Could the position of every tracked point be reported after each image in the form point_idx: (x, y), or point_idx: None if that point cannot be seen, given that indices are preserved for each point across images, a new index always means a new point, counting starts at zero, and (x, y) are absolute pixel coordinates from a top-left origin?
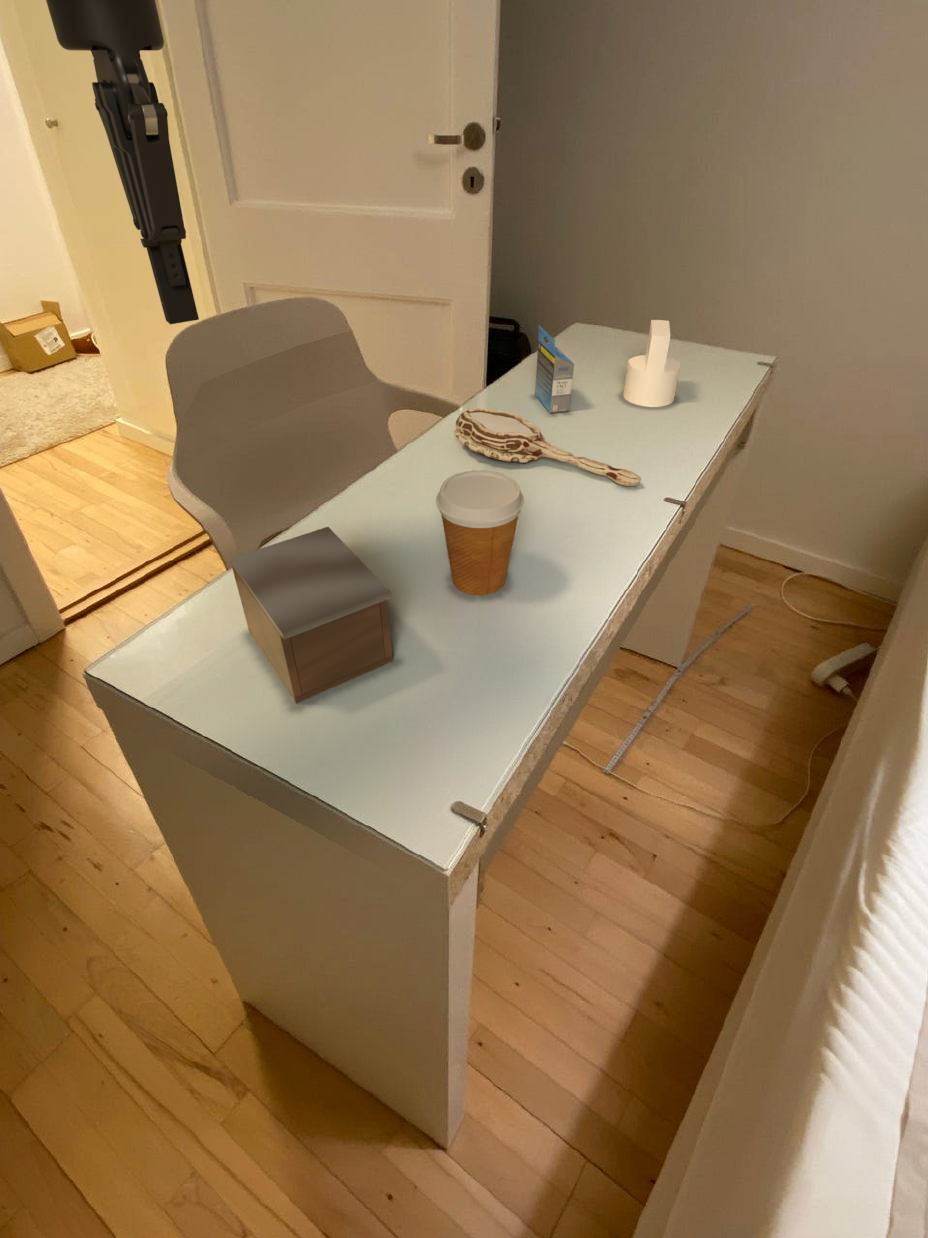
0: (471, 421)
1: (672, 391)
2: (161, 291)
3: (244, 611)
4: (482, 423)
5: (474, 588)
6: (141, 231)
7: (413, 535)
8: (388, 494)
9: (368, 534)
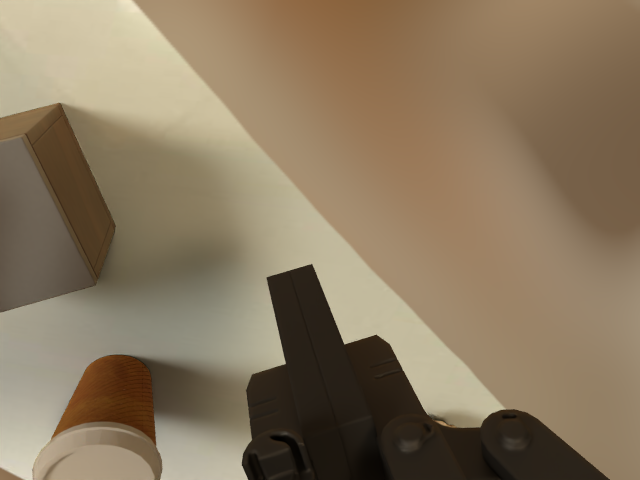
0: None
1: None
2: (281, 330)
3: (44, 113)
4: None
5: (81, 378)
6: (408, 443)
7: (239, 330)
8: (353, 316)
9: (261, 280)
